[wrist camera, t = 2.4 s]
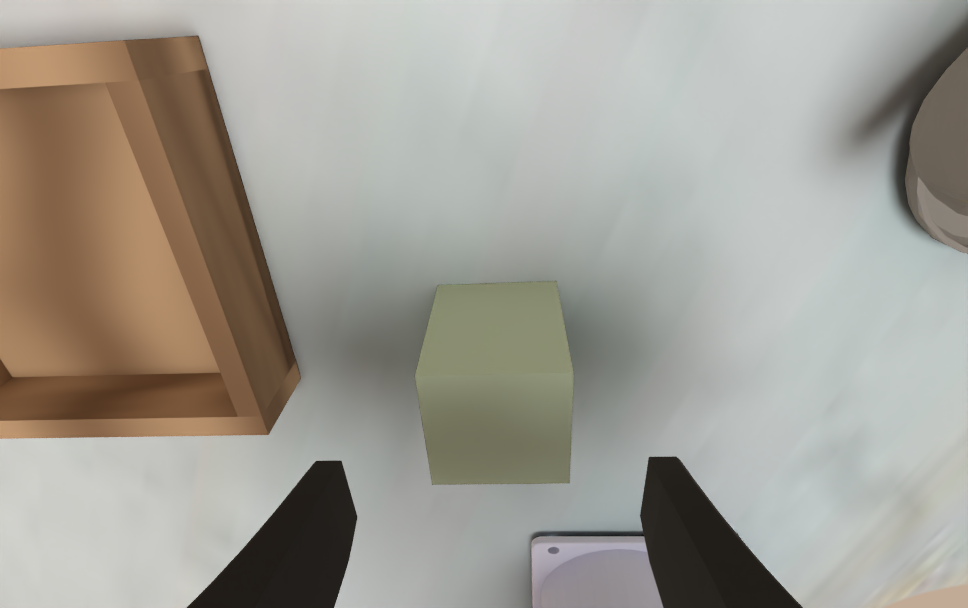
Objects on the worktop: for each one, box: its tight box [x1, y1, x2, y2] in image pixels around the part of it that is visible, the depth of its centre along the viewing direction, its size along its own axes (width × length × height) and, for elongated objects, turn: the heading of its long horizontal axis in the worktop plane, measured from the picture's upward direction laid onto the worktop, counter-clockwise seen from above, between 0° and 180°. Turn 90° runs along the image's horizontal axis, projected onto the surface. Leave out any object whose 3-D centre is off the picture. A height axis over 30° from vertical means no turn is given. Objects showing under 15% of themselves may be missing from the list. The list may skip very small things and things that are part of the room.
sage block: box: [415, 281, 574, 485], centre depth 16 cm, size 4×4×5 cm
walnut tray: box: [0, 36, 301, 439], centre depth 15 cm, size 12×12×3 cm
